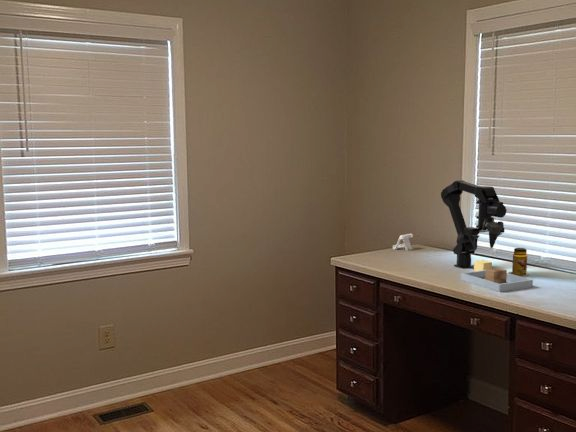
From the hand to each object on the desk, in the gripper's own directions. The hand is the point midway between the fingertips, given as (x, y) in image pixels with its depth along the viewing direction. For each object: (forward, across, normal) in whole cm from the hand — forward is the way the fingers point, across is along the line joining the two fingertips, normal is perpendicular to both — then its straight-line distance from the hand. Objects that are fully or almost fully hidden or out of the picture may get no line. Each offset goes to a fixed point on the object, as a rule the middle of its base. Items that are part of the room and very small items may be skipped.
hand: (483, 248), depth 296 cm
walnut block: (+11, -9, -19) cm, 24 cm away
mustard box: (+11, 0, 0) cm, 11 cm away
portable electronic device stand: (+12, 0, +62) cm, 63 cm away
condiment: (+11, +10, -11) cm, 19 cm away
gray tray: (+11, -9, -19) cm, 24 cm away
